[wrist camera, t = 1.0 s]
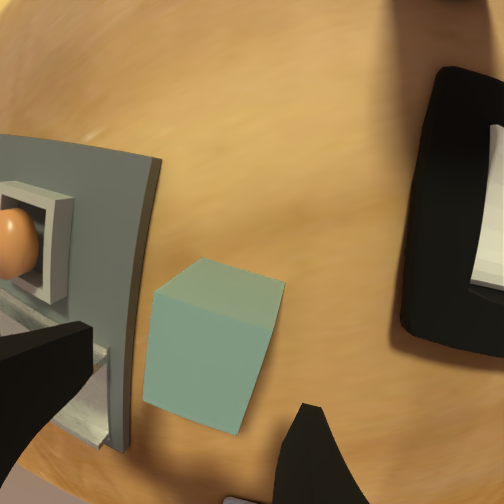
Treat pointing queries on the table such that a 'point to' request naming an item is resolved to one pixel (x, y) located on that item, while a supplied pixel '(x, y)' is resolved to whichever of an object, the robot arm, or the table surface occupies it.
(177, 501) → the table surface
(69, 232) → the button housing
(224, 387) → the block
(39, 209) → the holder board
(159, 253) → the table surface
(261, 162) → the table surface
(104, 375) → the metal rail
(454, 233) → the black tray
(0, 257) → the button
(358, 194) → the table surface
